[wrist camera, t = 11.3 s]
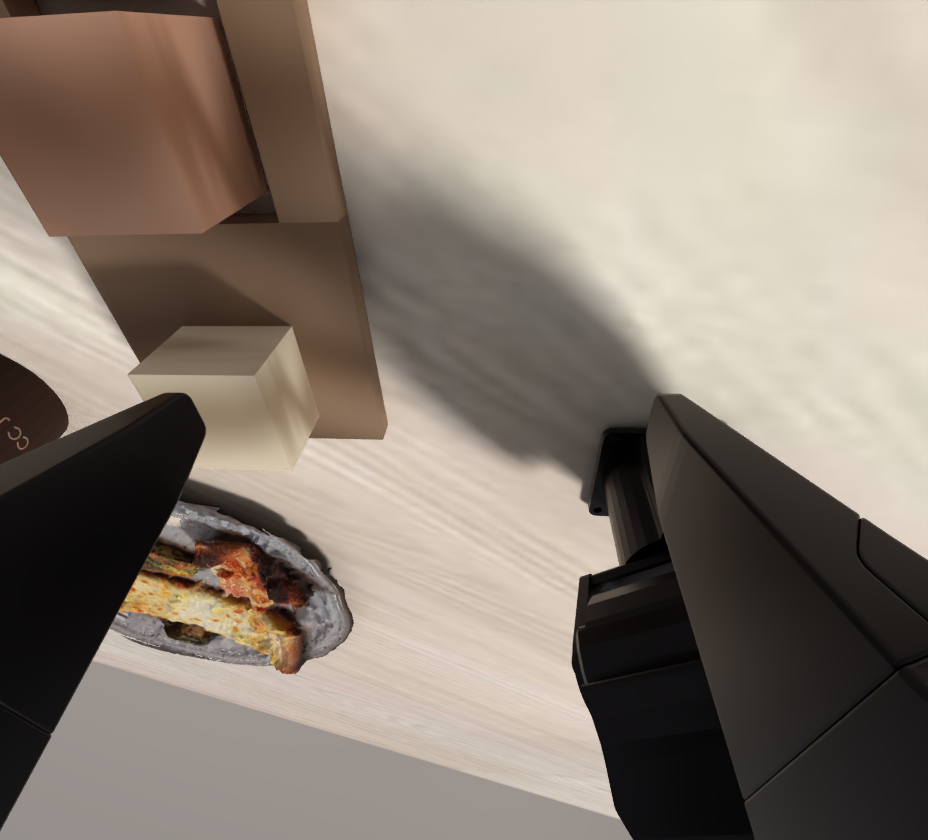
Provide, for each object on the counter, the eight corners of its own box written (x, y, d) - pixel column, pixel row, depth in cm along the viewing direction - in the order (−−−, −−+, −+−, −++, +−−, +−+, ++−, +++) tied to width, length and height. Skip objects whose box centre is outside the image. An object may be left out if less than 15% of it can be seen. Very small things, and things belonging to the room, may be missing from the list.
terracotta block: (269, 190, 18) (202, 233, 14) (146, 194, 18) (49, 236, 14) (219, 18, 14) (114, 10, 11) (72, 26, 15) (-80, 22, 11)
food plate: (399, 553, 32) (387, 600, 29) (318, 665, 46) (305, 704, 44) (6, 408, 27) (-52, 449, 24) (50, 584, 41) (16, 622, 38)
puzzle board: (387, 424, 25) (365, 495, 21) (193, 420, 26) (137, 488, 22) (111, -1020, 7) (-403, -2387, 3) (-496, -858, 8) (-1483, -1736, 4)
